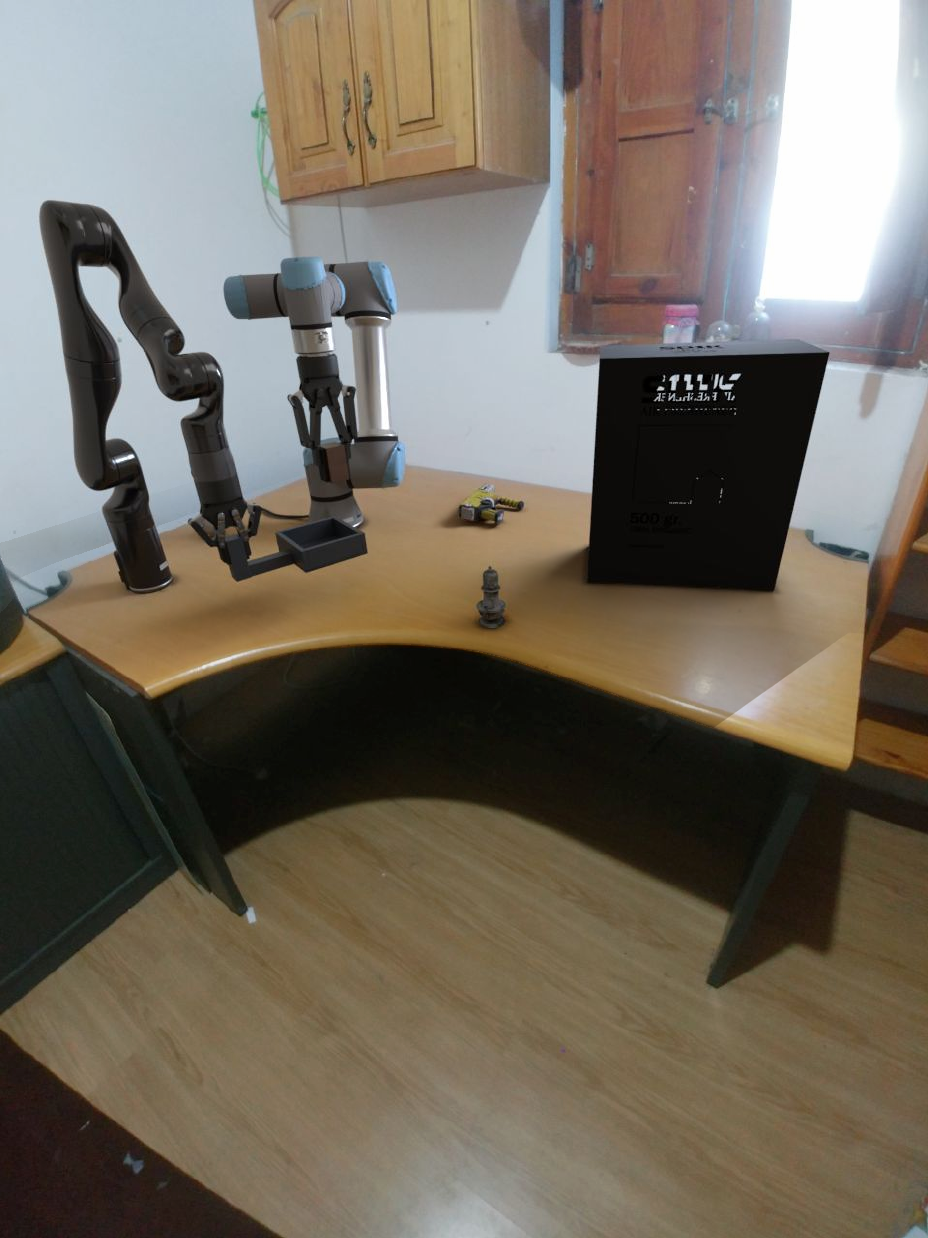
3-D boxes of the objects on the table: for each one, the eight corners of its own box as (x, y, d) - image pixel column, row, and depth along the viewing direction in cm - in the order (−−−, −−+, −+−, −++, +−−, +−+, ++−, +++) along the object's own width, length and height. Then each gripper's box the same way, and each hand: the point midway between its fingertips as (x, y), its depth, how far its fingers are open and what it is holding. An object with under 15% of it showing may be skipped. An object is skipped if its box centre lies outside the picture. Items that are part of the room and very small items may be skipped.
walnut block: (323, 479, 124) (317, 445, 120) (340, 475, 126) (335, 441, 122) (331, 483, 121) (326, 448, 117) (349, 479, 123) (344, 444, 119)
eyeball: (213, 540, 164) (207, 519, 161) (198, 536, 167) (192, 516, 164) (231, 532, 168) (225, 512, 165) (216, 529, 171) (211, 509, 168)
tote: (246, 591, 113) (235, 550, 109) (223, 568, 123) (212, 529, 119) (367, 553, 126) (362, 514, 122) (338, 534, 136) (332, 498, 132)
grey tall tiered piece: (504, 629, 116) (503, 573, 110) (474, 627, 117) (471, 571, 111) (508, 614, 120) (507, 559, 114) (479, 612, 122) (477, 558, 116)
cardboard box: (754, 550, 140) (797, 339, 118) (774, 590, 123) (829, 352, 101) (589, 545, 148) (601, 345, 125) (586, 582, 131) (599, 358, 108)
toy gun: (532, 488, 178) (484, 481, 182) (510, 513, 158) (457, 504, 162) (530, 504, 181) (483, 496, 185) (509, 529, 161) (456, 520, 165)
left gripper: (180, 486, 103) (206, 578, 111) (259, 469, 110) (279, 556, 118) (169, 477, 108) (195, 565, 117) (246, 461, 115) (265, 545, 124)
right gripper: (280, 360, 105) (304, 491, 116) (366, 349, 113) (381, 472, 125) (264, 358, 110) (289, 483, 121) (347, 348, 119) (363, 466, 130)
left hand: (237, 560), depth 117 cm, fingers closed on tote, 3 cm apart
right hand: (335, 477), depth 123 cm, fingers closed on walnut block, 4 cm apart
